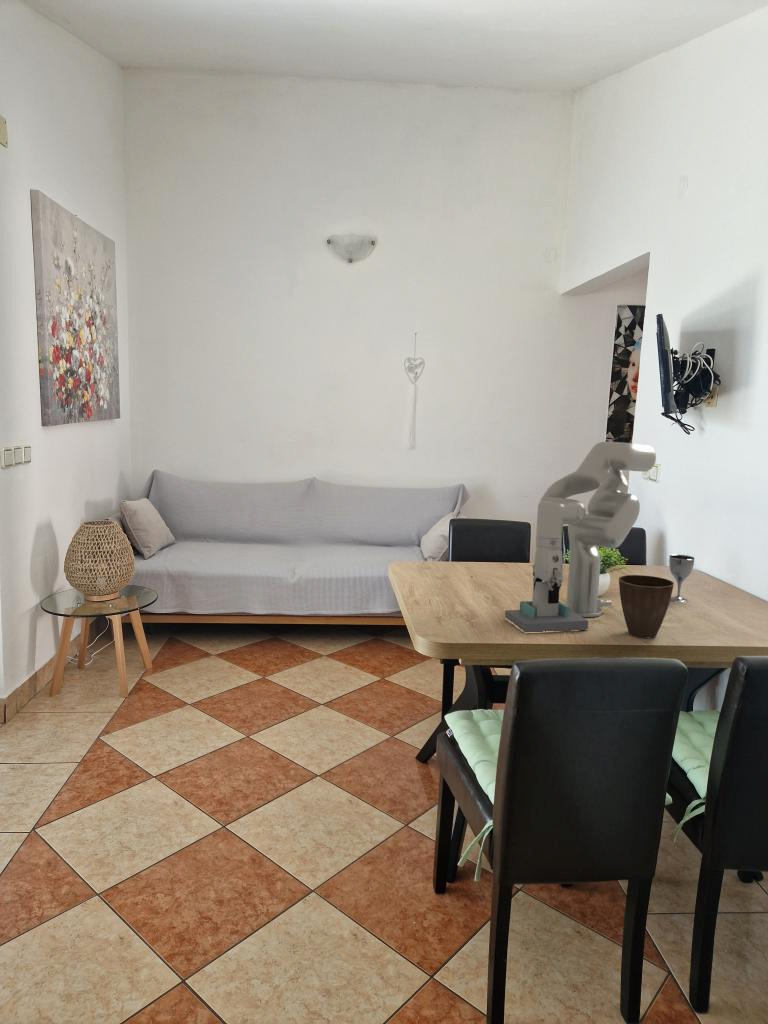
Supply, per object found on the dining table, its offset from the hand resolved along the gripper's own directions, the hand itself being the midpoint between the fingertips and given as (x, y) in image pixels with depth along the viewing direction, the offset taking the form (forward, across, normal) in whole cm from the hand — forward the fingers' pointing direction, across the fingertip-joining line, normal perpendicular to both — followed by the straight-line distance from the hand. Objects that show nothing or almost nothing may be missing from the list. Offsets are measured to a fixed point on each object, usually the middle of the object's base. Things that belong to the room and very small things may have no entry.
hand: (545, 598), depth 217 cm
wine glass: (+8, +19, -60) cm, 63 cm away
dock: (+8, -1, 0) cm, 8 cm away
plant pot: (+8, -14, -24) cm, 29 cm away
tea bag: (+5, 0, 0) cm, 5 cm away
